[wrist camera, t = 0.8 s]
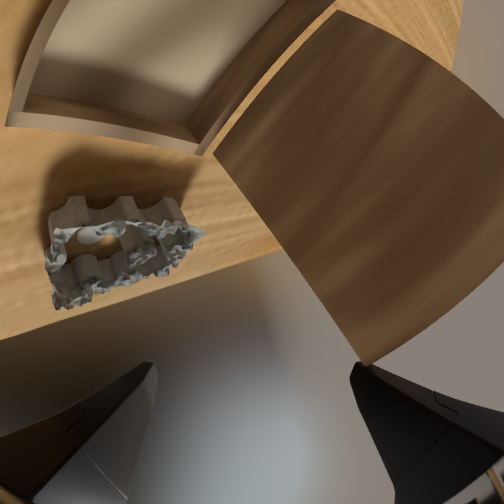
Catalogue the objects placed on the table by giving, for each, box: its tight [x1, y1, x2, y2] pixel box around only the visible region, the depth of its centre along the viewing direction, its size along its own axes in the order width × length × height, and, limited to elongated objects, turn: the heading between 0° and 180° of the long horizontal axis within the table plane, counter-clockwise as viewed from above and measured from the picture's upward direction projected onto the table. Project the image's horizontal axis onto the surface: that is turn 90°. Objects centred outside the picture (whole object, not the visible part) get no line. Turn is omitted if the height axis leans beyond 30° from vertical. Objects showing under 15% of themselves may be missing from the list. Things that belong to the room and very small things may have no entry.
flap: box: [213, 10, 504, 366], centre depth 9 cm, size 1×10×12 cm, turn 135°
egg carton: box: [45, 196, 206, 310], centre depth 17 cm, size 11×8×4 cm
